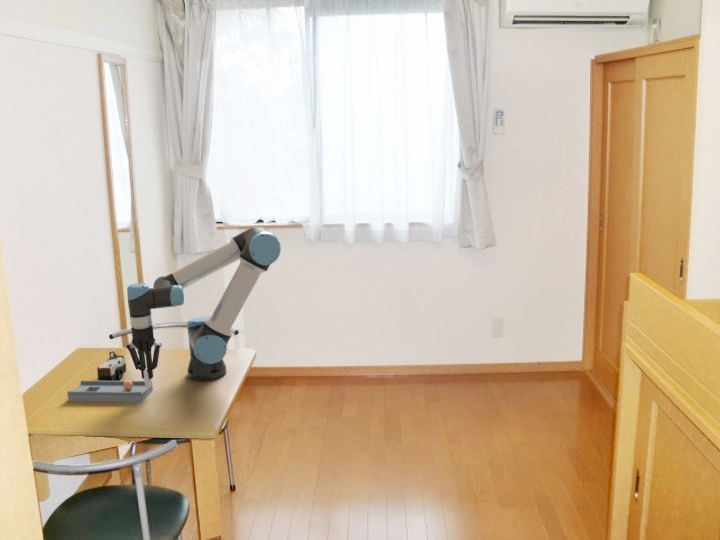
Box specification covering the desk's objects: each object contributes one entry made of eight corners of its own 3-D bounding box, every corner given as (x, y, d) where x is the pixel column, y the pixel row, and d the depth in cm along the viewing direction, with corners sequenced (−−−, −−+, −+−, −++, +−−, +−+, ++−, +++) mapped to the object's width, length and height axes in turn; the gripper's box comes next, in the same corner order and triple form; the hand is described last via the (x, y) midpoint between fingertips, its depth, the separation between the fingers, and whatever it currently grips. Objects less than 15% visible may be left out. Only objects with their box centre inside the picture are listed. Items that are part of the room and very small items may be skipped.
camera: (115, 385, 291) (112, 360, 289) (97, 384, 292) (93, 360, 290) (131, 370, 306) (128, 347, 303) (113, 370, 307) (110, 347, 304)
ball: (134, 387, 281) (133, 379, 280) (131, 391, 278) (130, 382, 277) (125, 387, 281) (124, 378, 280) (122, 391, 278) (120, 382, 277)
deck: (152, 390, 285) (151, 380, 284) (141, 402, 274) (140, 392, 273) (82, 389, 288) (81, 380, 287) (68, 401, 277) (67, 392, 276)
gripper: (162, 322, 275) (169, 382, 281) (128, 322, 277) (135, 382, 283) (155, 329, 268) (161, 390, 274) (120, 329, 270) (127, 390, 275)
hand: (148, 386), depth 278 cm, fingers closed
